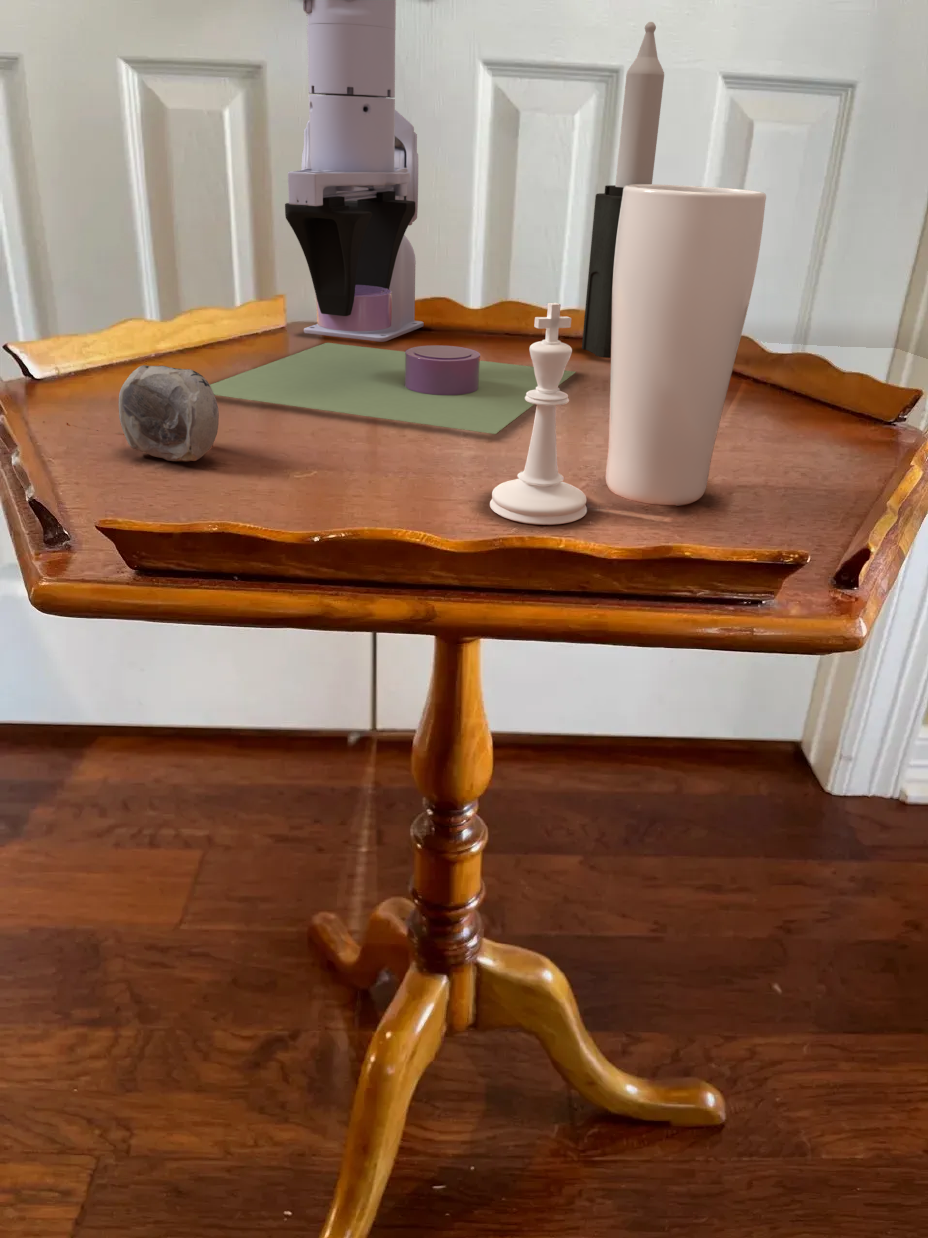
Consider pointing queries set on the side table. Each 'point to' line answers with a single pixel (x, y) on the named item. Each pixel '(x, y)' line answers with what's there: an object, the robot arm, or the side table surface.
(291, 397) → the placemat
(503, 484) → the chess piece
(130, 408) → the fossil
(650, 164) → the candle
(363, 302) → the lilac dish
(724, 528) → the side table surface
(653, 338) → the drinking glass
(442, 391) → the mauve dish
